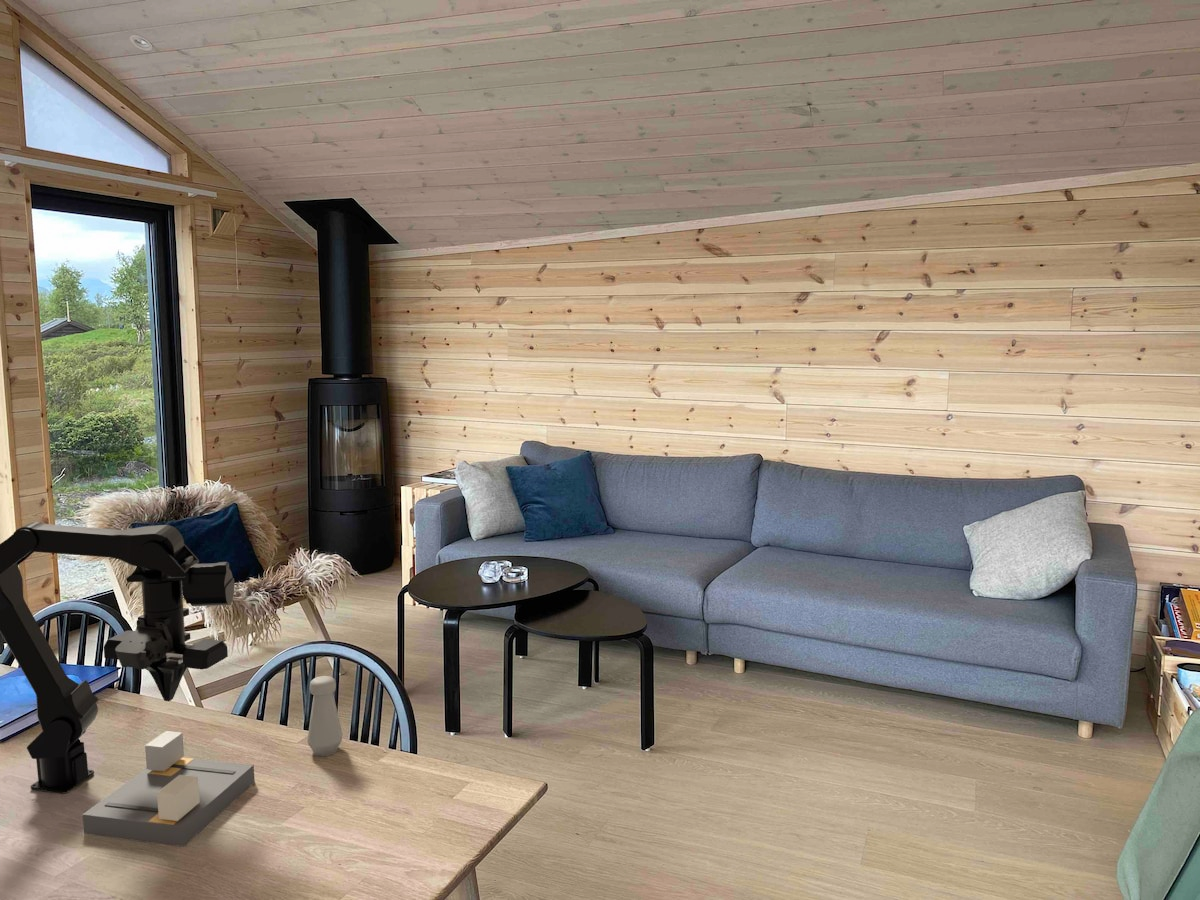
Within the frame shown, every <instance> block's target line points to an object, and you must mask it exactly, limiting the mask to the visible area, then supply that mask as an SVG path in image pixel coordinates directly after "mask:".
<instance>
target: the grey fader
mask: <svg viewBox="0 0 1200 900" xmlns="http://www.w3.org/2000/svg"><path fill="white" fill-rule="evenodd" d="M183 733H184V732H178V731H167V730H165V731H164V732H163V733H161V734H159V735H158V736H156V737H155V738H153V739H152V740H150V741H149V742H147V743H146V744H145V745H144V748H145V749H144V751H145V761H146V762H145V763H146V764H145V765H146V768H147V769H148V770H157V771H165V770H166V769H168V768H169V767H170V766H172V765H173V764H174V763H176V762H177V761H178V760H180V759H181V758H182V757H185V751H184V750H185V748H184V747H185V746H184V735H183Z"/></svg>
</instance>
